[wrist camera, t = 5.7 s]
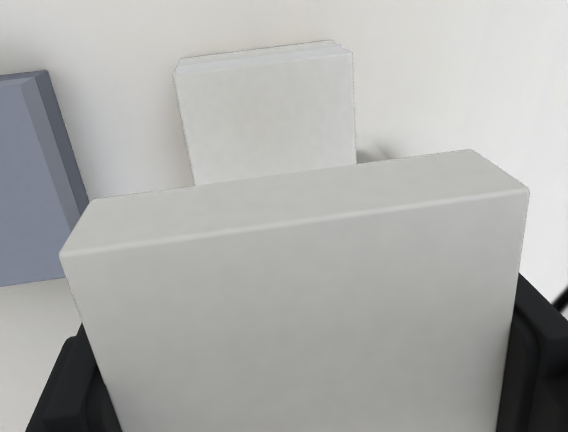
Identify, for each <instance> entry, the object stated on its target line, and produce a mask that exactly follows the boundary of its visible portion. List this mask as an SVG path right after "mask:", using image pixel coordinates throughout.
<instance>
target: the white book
mask: <svg viewBox="0 0 568 432" xmlns="http://www.w3.org/2000/svg"><path fill="white" fill-rule="evenodd" d="M529 196H530V191H529V188H528V187H527V186H525V185H524V184H522V183H521V182H519V181H518V180H517V179H515V178H514V177H512V176H511V175H509V174H508V173H506V172H505V171H503V170H502V169H501V168H499V167H498V166H496V165H495V164H493V163H492V162H490V161H489V160H487V159H486V158H485V157H483V156H482V155H480V154H479V153H477V152H476V151H474V150H472V149H466V150H459V151H451V152H444V153H436V154H429V155H421V156H414V157H406V158H399V159H391V160H384V161H376V162H369V163H361V164H354V165H346V166H339V167H331V168H324V169H316V170H309V171H301V172H294V173H286V174H279V175H271V176H264V177H256V178H249V179H241V180H234V181H226V182H219V183H211V184H204V185H196V186H189V187H181V188H174V189H166V190H159V191H151V192H144V193H136V194H129V195H121V196H114V197H106V198H99V199H93V200H91V201H90V203H89V204H88V206H87V207H86V209H85V211H84V212H83V214H82V216H81V217H80V219H79V221H78V222H77V224H76V226H75V227H74V229H73V231H72V232H71V234H70V236H69V237H68V239H67V241H66V242H65V244H64V246H63V247H62V249H61V250H60V252H59V259H60V262H61V265H62V267H63V270H64V273H65V276H66V279H67V281H68V284H69V287H70V290H71V292H72V295H73V298H74V301H75V304H76V306H77V309H78V312H79V315H80V317H81V320H82V323H83V326H84V328H85V331H86V334H87V337H88V340H89V342H90V345H91V348H92V351H93V353H94V356H95V359H96V362H97V365H98V367H99V370H100V373H101V376H102V378H103V381H104V384H105V385H106V387H107V390H108V393H109V396H110V399H111V401H112V404H113V407H114V410H115V412H116V415H117V418H118V421H119V424H120V426H121V429H122V432H496V426H497V419H498V412H499V405H500V398H501V391H502V384H503V377H504V370H505V363H506V356H507V349H508V342H509V335H510V328H511V322H512V315H513V308H514V301H515V294H516V287H517V280H518V273H519V266H520V259H521V252H522V245H523V238H524V231H525V224H526V217H527V210H528V203H529Z"/></svg>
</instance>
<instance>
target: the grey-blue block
mask: <svg viewBox="0 0 568 432" xmlns="http://www.w3.org/2000/svg"><path fill="white" fill-rule="evenodd" d="M88 204H89V201H88V198H87V195H86V192H85V188H84V185H83V182H82V179H81V176H80V173H79V169H78V166H77V163H76V160H75V157H74V154H73V150H72V147H71V144H70V141H69V138H68V135H67V131H66V128H65V125H64V122H63V119H62V116H61V112H60V109H59V106H58V103H57V100H56V97H55V93H54V90H53V87H52V84H51V81H50V78H49V74H48V72H47V71H46V70H42V71H34V72H26V73H18V74H10V75H2V76H0V287H3V286H10V285H17V284H23V283H30V282H37V281H44V280H51V279H58V278H64V277H66V276H65V273H64V270H63V267H62V265H61V262H60V259H59V252H60V250H61V249H62V247H63V246H64V244H65V242H66V241H67V239H68V237H69V236H70V234H71V232H72V231H73V229H74V227H75V226H76V224H77V222H78V221H79V219H80V217H81V216H82V214H83V212H84V211H85V209H86V207H87V206H88Z"/></svg>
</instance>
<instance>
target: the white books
mask: <svg viewBox="0 0 568 432" xmlns="http://www.w3.org/2000/svg"><path fill="white" fill-rule="evenodd" d="M173 81H174V86H175V91H176V96H177V101H178V106H179V111H180V116H181V121H182V126H183V131H184V136H185V141H186V146H187V151H188V156H189V161H190V165H191V170H192V175H193V180H194V185H195V186H196V185H204V184H211V183H219V182H226V181H234V180H241V179H249V178H256V177H264V176H271V175H279V174H286V173H294V172H301V171H309V170H316V169H324V168H331V167H339V166H346V165H354V164H356V136H355V109H354V81H353V54H352V52H351V51H349V50H347V49H345V48H344V47H342V46H341V45H340V44H338V43H336V42H334V41H333V40H328V41H319V42H311V43H303V44H295V45H287V46H279V47H271V48H263V49H255V50H246V51H238V52H230V53H222V54H214V55H206V56H198V57H190V58H182V59H180V61H179V62H178V64H177V67H176V69H175V71H174V73H173Z"/></svg>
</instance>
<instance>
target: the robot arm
mask: <svg viewBox="0 0 568 432" xmlns="http://www.w3.org/2000/svg"><path fill="white" fill-rule="evenodd" d="M25 432H122V429H121V426H120V424H119V421H118V418H117V415H116V412H115V410H114V407H113V404H112V401H111V399H110V396H109V393H108V390H107V387H106V385H105V384H104V381H103V378H102V376H101V373H100V370H99V367H98V365H97V362H96V359H95V356H94V353H93V351H92V348H91V345H90V342H89V340H88V337H87V334H86V331H85V328H84V326H83V323H81V326H80V328H79V330H78V333H77V335H76V336H74V337H70V338H68V339H67V340H66V341H65V343H64V345H63V347H62V349H61V352H60V354H59V356H58V358H57V361H56V363H55V365H54V367H53V370H52V372H51V374H50V376H49V379H48V381H47V383H46V385H45V388H44V390H43V392H42V394H41V397H40V399H39V401H38V404H37V406H36V408H35V410H34V413H33V415H32V417H31V419H30V422H29V424H28V426H27V428H26V431H25ZM496 432H568V321H567V320H566V319H565V318H564V317H563V316H562V315H561V314H560V313H559V312H558V311H557V310H556V309H555V308H554V307H553V306H552V305H551V304H550V303H549V302H548V301H547V300H546V299H545V298H544V297H543V296H542V295H541V294H540V293H539V292H538V291H537V290H536V289H535V288H534V287H533V286H532V285H531V284H530V283H529V282H528V281H527V280H526V279H525V278H524V277H523V276H522V275H521V274H520V273H518V280H517V287H516V294H515V301H514V308H513V315H512V322H511V328H510V335H509V342H508V349H507V356H506V363H505V370H504V377H503V384H502V391H501V398H500V405H499V412H498V419H497V426H496Z"/></svg>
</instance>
